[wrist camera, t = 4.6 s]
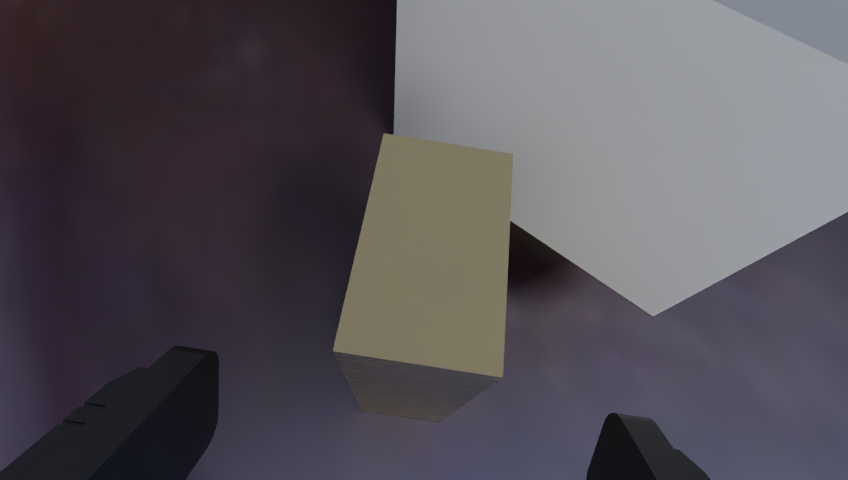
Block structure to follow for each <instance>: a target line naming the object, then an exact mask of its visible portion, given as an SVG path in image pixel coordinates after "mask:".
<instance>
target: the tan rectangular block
mask: <svg viewBox="0 0 848 480" xmlns="http://www.w3.org/2000/svg"><path fill="white" fill-rule="evenodd" d="M512 168H513V154H510V153H504V152H498V151H492V150H485V149H479V148H473V147H467V146H460V145H454V144H448V143H442V142H435V141H429V140H423V139H417V138H410V137H404V136H398V135H392V134H385V133H384V135H383V139H382V143H381V147H380V152H379V156H378V160H377V164H376V169H375V173H374V177H373V181H372V186H371V190H370V194H369V198H368V203H367V207H366V211H365V215H364V220H363V224H362V228H361V232H360V237H359V241H358V245H357V249H356V254H355V258H354V262H353V266H352V271H351V275H350V279H349V283H348V288H347V292H346V296H345V300H344V305H343V309H342V313H341V317H340V322H339V326H338V330H337V334H336V339H335V343H334V347H333V353H334V355H335V357H336V359H337V361H338V363H339V365H340V368H341V370H342V372H343V374H344V376H345V378H346V380H347V382H348V384H349V386H350V388H351V390H352V392H353V394H354V396H355V398H356V401H357V403H358V405H359V407H360V409H361V411H366V412H373V413H379V414H386V415H392V416H399V417H405V418H412V419H418V420H425V421H431V422H438V423H439V422H441V421H442V420H443V419H445V418H446V417H448V416H449V415H451V414H452V413H453V412H455V411H456V410H458V409H459V408H460V407H462V406H463V405H465V404H466V403H468V402H469V401H470V400H472V399H473V398H475V397H476V396H477V395H479V394H480V393H482V392H483V391H485V390H486V389H487V388H489V387H490V386H492V385H493V384H494V383H496V382H497V381H499V380H500V379H502V378H503V363H504V341H505V320H506V298H507V276H508V255H509V233H510V211H511V190H512Z"/></svg>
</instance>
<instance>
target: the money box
mask: <svg viewBox="0 0 848 480" xmlns="http://www.w3.org/2000/svg"><path fill="white" fill-rule="evenodd" d="M394 135H398V136H404V137H410V138H417V139H423V140H429V141H435V142H442V143H448V144H454V145H460V146H467V147H473V148H479V149H485V150H492V151H498V152H504V153H510V154H513V168H512V190H511V211H510V221H512V222H513V223H515V224H516V225H518V226H519V227H521V228H522V229H524V230H525V231H527V232H528V233H530V234H531V235H533V236H534V237H536V238H537V239H539V240H540V241H542V242H543V243H545V244H546V245H547V246H549V247H550V248H552V249H553V250H555V251H556V252H558V253H559V254H561V255H562V256H564V257H565V258H567V259H568V260H570V261H571V262H573V263H574V264H576V265H577V266H579V267H580V268H582V269H583V270H585V271H586V272H588V273H589V274H591V275H592V276H594V277H595V278H596V279H598V280H599V281H601V282H602V283H604V284H605V285H607V286H608V287H610V288H611V289H613V290H614V291H616V292H617V293H619V294H620V295H622V296H623V297H625V298H626V299H628V300H629V301H631V302H632V303H634V304H635V305H637V306H638V307H640V308H641V309H643V310H644V311H646V312H647V313H648V314H650V315H651V316H655V315H657V314H659V313H660V312H662V311H664V310H666V309H668V308H670V307H672V306H673V305H675V304H677V303H679V302H681V301H683V300H685V299H686V298H688V297H690V296H692V295H694V294H696V293H698V292H699V291H701V290H703V289H705V288H707V287H709V286H711V285H712V284H714V283H716V282H718V281H720V280H722V279H724V278H725V277H727V276H729V275H731V274H733V273H735V272H737V271H738V270H740V269H742V268H744V267H746V266H748V265H750V264H751V263H753V262H755V261H757V260H759V259H761V258H763V257H764V256H766V255H768V254H770V253H772V252H774V251H776V250H777V249H779V248H781V247H783V246H785V245H787V244H789V243H790V242H792V241H794V240H796V239H798V238H800V237H802V236H803V235H805V234H807V233H809V232H811V231H813V230H815V229H816V228H818V227H820V226H822V225H824V224H826V223H828V222H829V221H831V220H833V219H835V218H837V217H839V216H841V215H842V214H844V213H846V212H848V0H397V22H396V62H395V101H394Z"/></svg>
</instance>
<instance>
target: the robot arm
mask: <svg viewBox="0 0 848 480" xmlns="http://www.w3.org/2000/svg"><path fill="white" fill-rule="evenodd" d="M218 389H219V359H218V355H217V353H216V352H214V351H208V350H202V349H195V348H189V347H182V346H174V347H172V348H171V349H170V350H168V351H167V352H166V353H165V354H164V355H163V356H162V357H161V358H159V359H158V360H157V361H156V362H155V363H154V364H153V365H152V366H150V367H149V368H148V369H147V368H141V367H139V368H137V369H135V370H133V371H131V372H129V373H127V374H125V375H123V376H121V377H119V378H117V379H115V380H113V381H111V382H109V383H108V384H106V385H105V386H104V387H103V388H101V389H100V390H99V391H98V392H97V393H95V394H94V395H93V396H92V397H91V398H89V399H88V400H87V401H86V402H85V404H84V406H83V407H78V408H77V409H76V410H75V411H74V412H72V413H71V414H70V415H69V416H68V417H66V418H65V419H64V421H63V423H62V424H61V425H59V424H58V425H57V426H55V427H54V428H53V429H52V430H51V431H49V432H48V433H47V434H46V435H45V436H43V437H42V438H41V439H40V440H38V441H37V442H36V443H35V444H34V445H32V446H31V447H30V448H29V449H28V450H26V451H25V452H24V453H23V454H22V455H20V456H19V457H18V458H17V459H15V460H14V461H13V462H12V463H11V464H9V465H8V466H7V467H6V468H5V469H3V470H2V471H1V472H0V480H185V479H186V478H187V476H188V475H189V473H190V472H191V471H192V469H193V468H194V466H195V465H196V463H197V462H198V460H199V459H200V457H201V456H202V455H203V453H204V452H205V450H206V449H207V447H208V445H209V443H210V441H211V439H212V437H213V434H214V432H215V429H216V425H217V420H218ZM586 480H710V479H709V477H708V476H707V475H706V473H705V472H704V471H702V470H701V469H700V468H699V467H698V466H697V465H696V464H695V463H693V462H692V461H691V460H690V459H689V458H688V457H687V456H685V455H684V454H683V453H682V452H681V451H680V450H677V449H673V447H672V446H671V444H670V443H669V441H668V440H667V439H666V437H665V436H664V434H663V433H662V431H661V430H660V428H659V427H658V425H657V424H656V423H655V422H654V421H653V420H652V419H650V418H644V417H637V416H631V415H624V414H617V413H610V414H609V415H608V416H607V417H606V419H605V421H604V424H603V427H602V430H601V433H600V436H599V439H598V442H597V445H596V448H595V451H594V454H593V457H592V460H591V463H590V466H589V469H588V472H587V479H586Z"/></svg>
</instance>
